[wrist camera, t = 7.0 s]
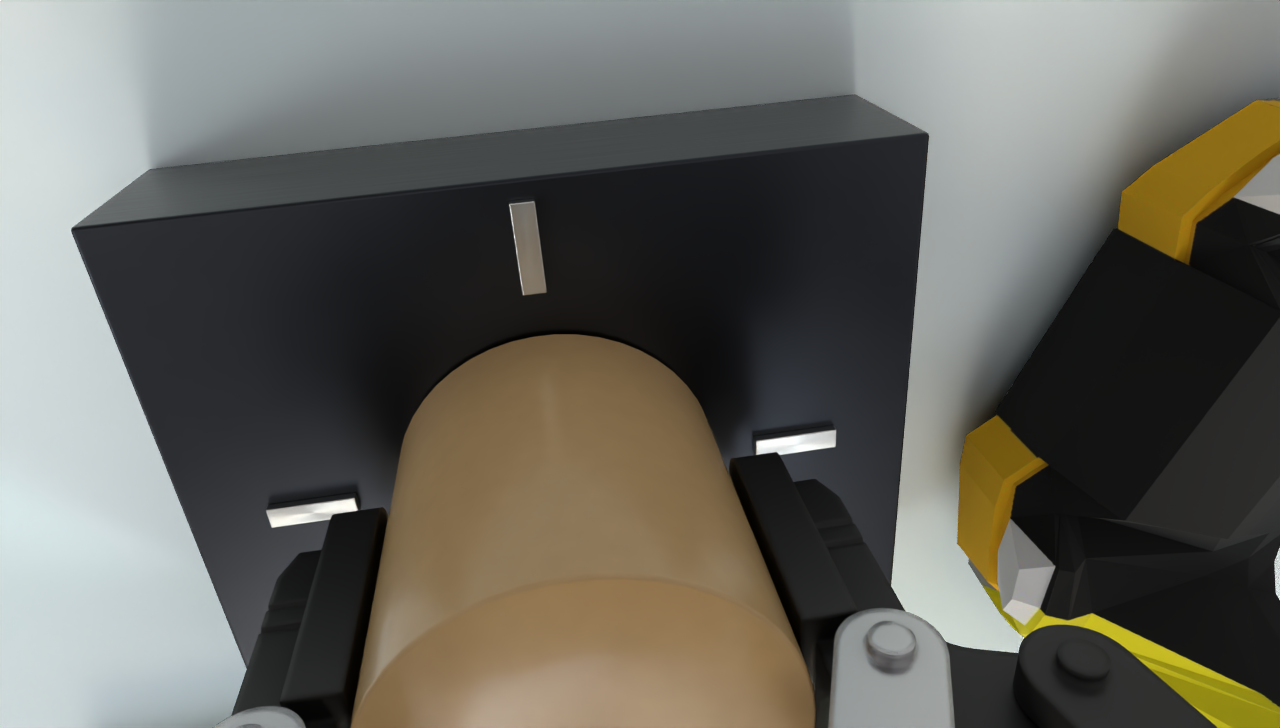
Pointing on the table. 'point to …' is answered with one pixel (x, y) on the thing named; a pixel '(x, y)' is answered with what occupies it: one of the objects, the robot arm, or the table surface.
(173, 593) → the table surface
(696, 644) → the knob
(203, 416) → the panel
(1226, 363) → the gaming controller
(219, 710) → the table surface
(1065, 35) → the table surface
